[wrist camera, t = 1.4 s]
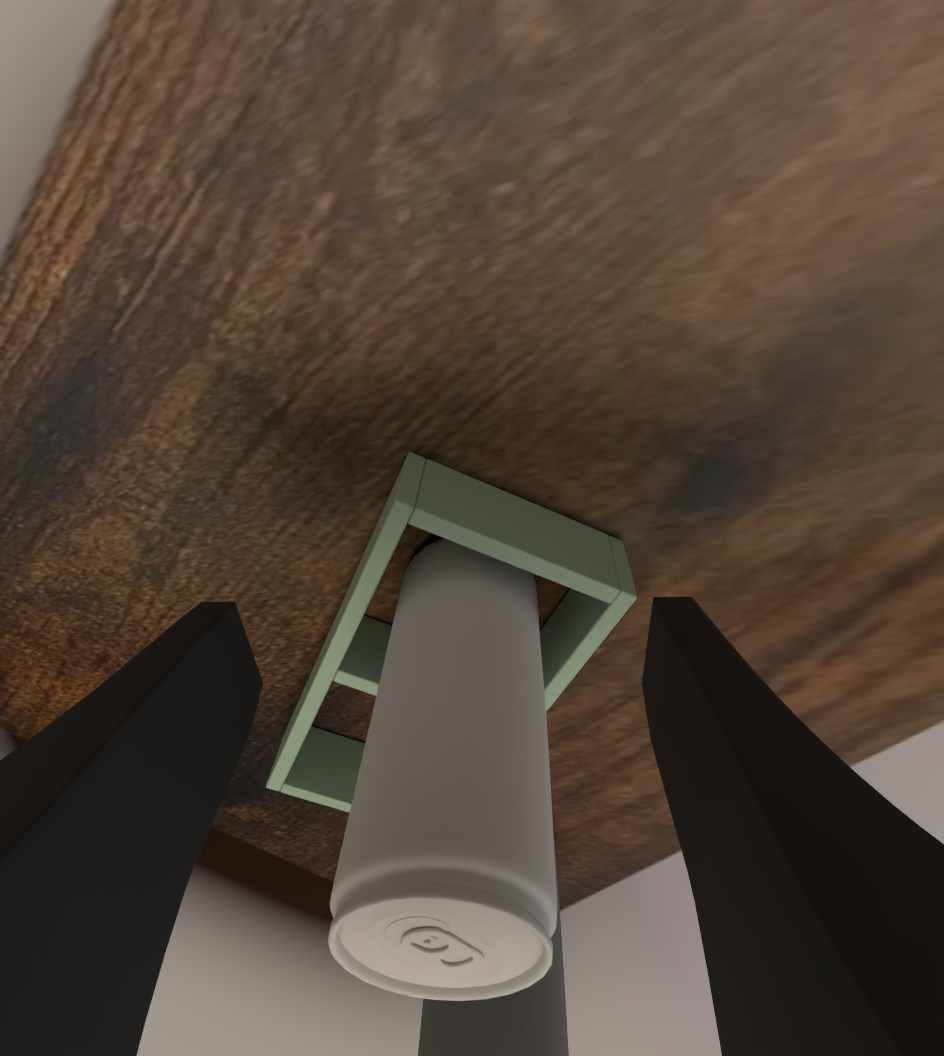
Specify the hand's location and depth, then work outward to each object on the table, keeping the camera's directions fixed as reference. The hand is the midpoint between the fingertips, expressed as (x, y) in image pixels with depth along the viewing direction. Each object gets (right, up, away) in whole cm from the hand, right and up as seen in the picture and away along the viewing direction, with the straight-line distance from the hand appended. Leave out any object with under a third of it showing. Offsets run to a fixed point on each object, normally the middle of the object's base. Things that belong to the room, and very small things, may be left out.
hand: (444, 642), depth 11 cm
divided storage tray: (-1, -3, +13) cm, 14 cm away
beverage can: (+1, 0, +12) cm, 12 cm away
